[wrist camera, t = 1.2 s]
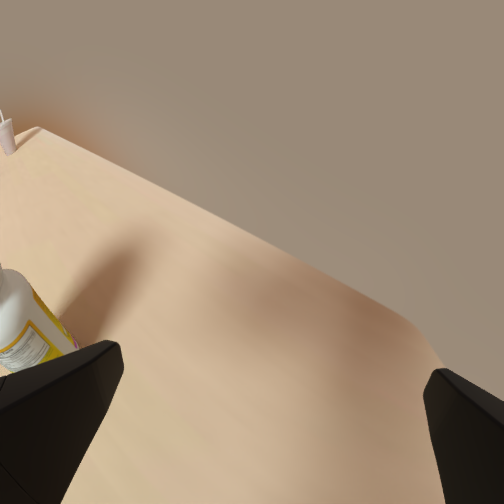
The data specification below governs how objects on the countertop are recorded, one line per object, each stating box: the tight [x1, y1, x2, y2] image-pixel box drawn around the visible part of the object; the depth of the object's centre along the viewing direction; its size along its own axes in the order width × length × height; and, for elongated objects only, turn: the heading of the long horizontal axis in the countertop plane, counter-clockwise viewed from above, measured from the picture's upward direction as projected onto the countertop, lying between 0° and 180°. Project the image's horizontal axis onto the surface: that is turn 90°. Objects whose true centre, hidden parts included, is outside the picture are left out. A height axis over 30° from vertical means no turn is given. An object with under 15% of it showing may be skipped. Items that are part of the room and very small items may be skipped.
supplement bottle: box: [0, 264, 79, 373], centre depth 17 cm, size 7×7×13 cm
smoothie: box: [0, 109, 17, 156], centre depth 54 cm, size 6×6×14 cm
